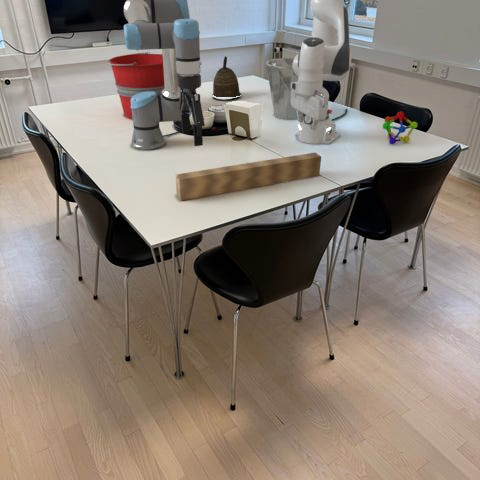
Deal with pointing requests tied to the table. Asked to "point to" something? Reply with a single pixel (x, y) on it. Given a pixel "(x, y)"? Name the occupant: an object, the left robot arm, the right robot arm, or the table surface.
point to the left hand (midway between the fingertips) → (192, 138)
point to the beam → (247, 175)
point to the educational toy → (398, 128)
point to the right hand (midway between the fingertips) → (306, 125)
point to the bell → (225, 82)
